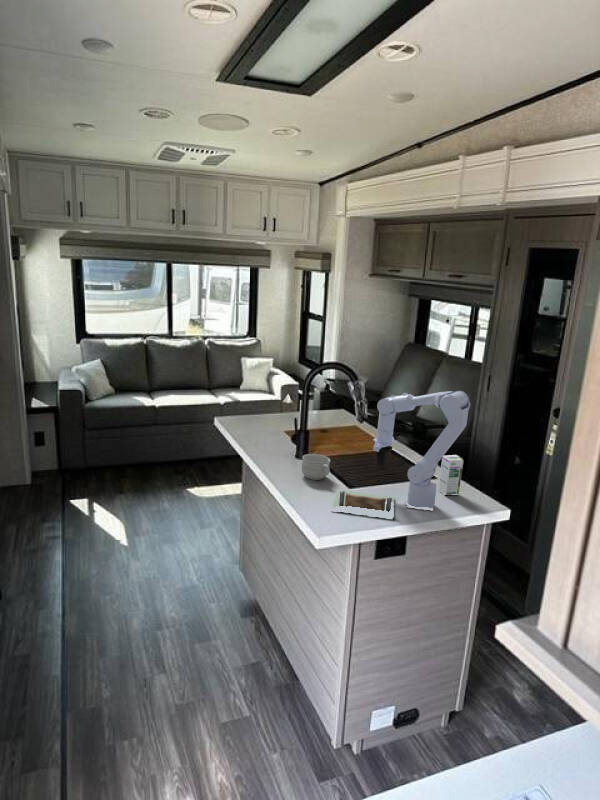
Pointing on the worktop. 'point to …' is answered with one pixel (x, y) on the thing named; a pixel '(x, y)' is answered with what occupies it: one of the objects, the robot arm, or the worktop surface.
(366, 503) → the wooden block
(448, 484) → the syrup box
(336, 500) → the gate mat
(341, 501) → the dark gray metal cylinder
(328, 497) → the worktop surface
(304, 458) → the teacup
